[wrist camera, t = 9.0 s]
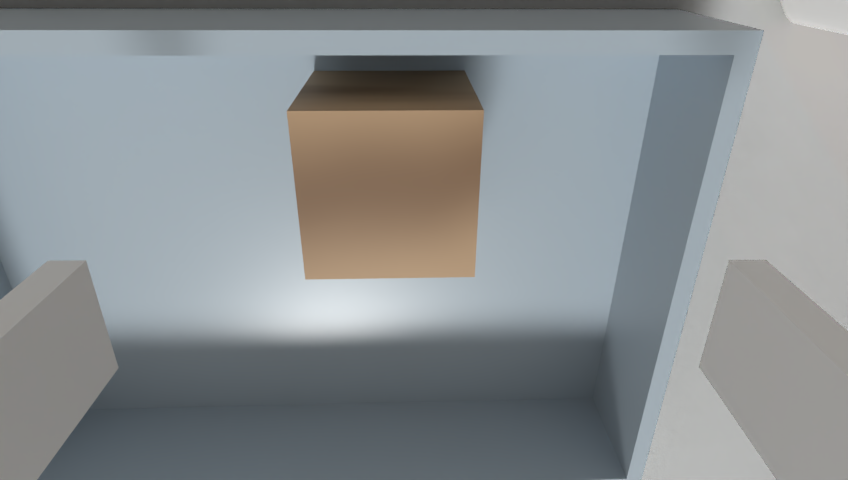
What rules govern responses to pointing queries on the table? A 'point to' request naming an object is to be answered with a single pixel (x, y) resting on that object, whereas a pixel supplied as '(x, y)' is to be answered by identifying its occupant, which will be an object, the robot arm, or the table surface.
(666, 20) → the tray
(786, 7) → the eye dropper bottle
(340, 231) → the walnut cube
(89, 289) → the robot arm
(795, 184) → the table surface
